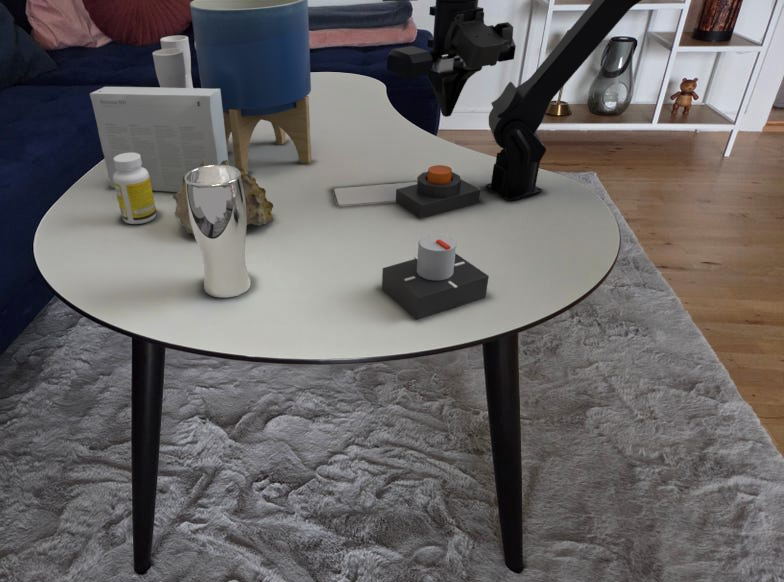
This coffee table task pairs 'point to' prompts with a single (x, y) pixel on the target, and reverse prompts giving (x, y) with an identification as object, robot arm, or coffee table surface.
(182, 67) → the binoculars
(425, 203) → the button block
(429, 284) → the timer panel
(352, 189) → the smartphone
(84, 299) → the coffee table surface
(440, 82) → the robot arm
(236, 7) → the planter
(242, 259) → the beer glass
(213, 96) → the skincare box
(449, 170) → the button
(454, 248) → the timer knob
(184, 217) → the seashell
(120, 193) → the supplement bottle
